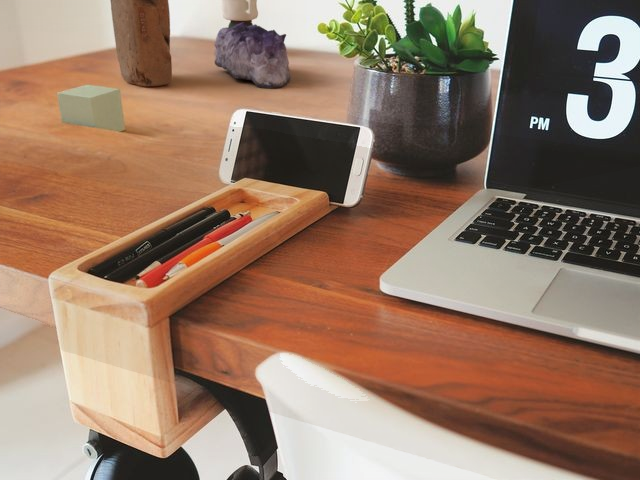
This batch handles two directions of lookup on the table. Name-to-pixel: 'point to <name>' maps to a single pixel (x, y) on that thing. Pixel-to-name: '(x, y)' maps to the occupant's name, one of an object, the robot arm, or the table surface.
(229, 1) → the character mug
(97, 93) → the cube
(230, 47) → the geode
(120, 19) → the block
